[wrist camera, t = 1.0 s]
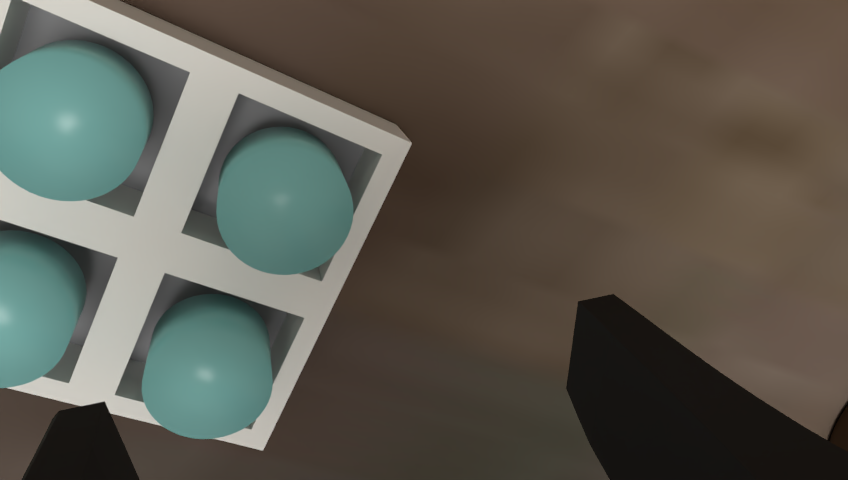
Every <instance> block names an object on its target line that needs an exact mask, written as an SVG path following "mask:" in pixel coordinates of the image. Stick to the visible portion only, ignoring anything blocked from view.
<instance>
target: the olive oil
mask: <svg viewBox="0 0 848 480" xmlns="http://www.w3.org/2000/svg"><path fill="white" fill-rule="evenodd" d="M830 442H831V443H833V444H835V445H836V446H838V447H840V448H842V449H844V450H846V451H847V452H848V405H847V407H846V408H845V410H844V411H843V413H842V414H841V416H840V418H839V420H838V422H837V424H836V426H835V428H834V430H833V433H832V435H831V438H830Z"/></svg>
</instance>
